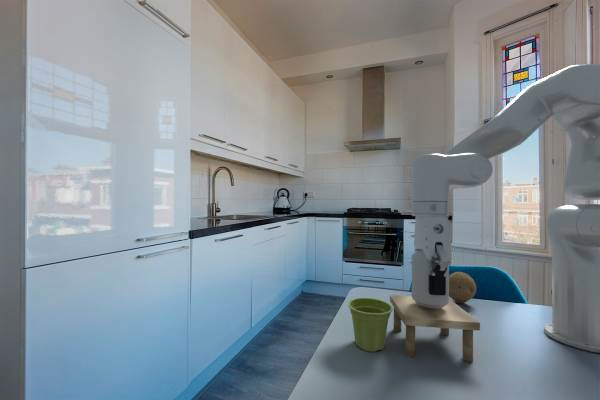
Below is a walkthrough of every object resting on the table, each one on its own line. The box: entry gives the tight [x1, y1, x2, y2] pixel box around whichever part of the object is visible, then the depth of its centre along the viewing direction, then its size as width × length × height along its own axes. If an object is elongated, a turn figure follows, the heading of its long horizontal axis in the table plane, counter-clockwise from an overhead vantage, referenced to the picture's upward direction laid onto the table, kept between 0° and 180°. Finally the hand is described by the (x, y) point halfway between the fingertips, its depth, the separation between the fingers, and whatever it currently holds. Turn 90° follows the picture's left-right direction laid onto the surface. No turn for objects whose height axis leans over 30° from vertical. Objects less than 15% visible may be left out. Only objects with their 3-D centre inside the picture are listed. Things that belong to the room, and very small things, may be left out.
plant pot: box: [347, 297, 394, 353], centre depth 58 cm, size 9×9×9 cm
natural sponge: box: [449, 271, 477, 304], centre depth 85 cm, size 9×9×10 cm
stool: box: [389, 294, 481, 363], centre depth 59 cm, size 14×14×8 cm
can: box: [411, 249, 450, 308], centre depth 60 cm, size 8×8×12 cm
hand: (429, 288), depth 60 cm, fingers closed on can, 7 cm apart
